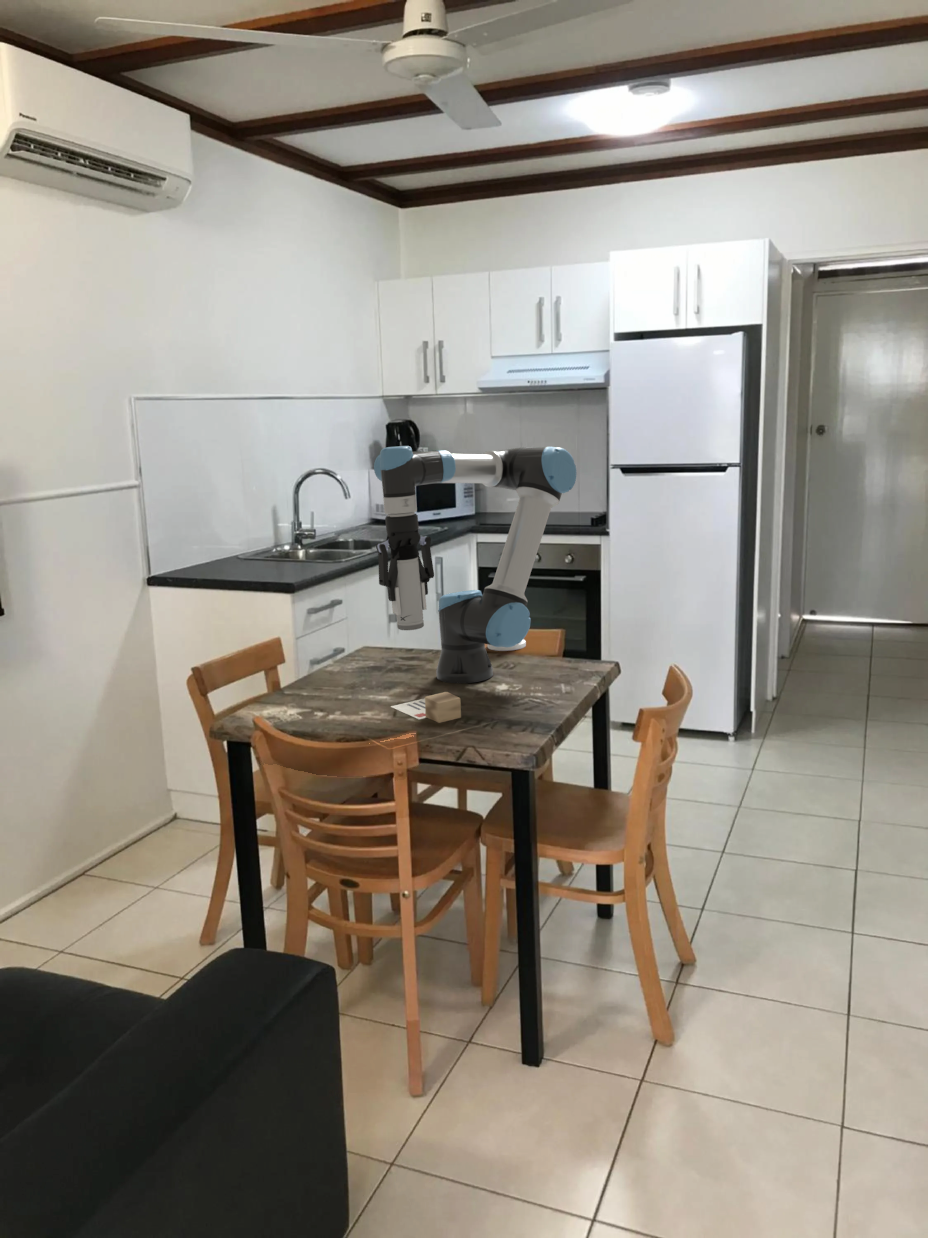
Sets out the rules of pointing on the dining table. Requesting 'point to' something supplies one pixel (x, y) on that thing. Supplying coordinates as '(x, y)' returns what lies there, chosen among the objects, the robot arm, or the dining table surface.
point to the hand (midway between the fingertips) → (409, 611)
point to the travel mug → (409, 588)
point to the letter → (413, 708)
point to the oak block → (442, 707)
